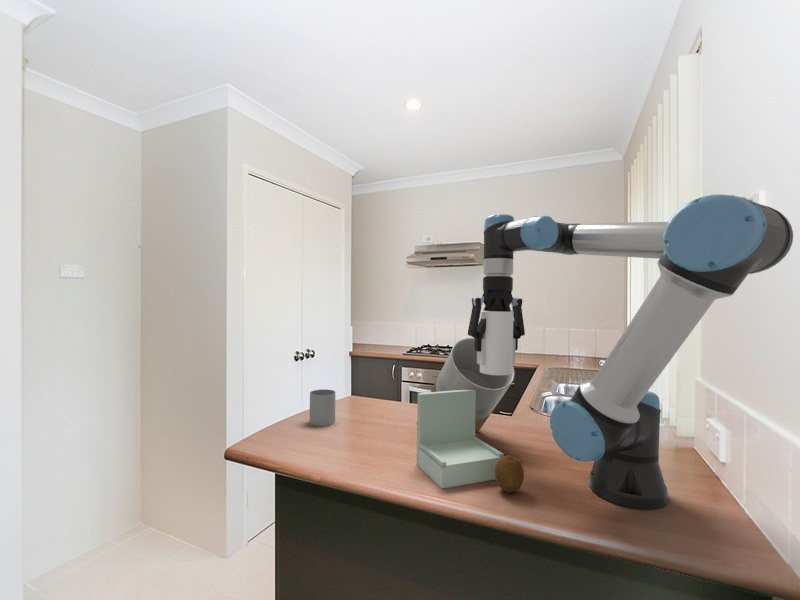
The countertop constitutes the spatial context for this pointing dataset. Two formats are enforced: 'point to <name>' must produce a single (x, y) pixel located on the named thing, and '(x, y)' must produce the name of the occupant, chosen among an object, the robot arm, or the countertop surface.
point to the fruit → (509, 473)
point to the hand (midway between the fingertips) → (495, 363)
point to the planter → (472, 380)
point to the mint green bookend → (452, 440)
